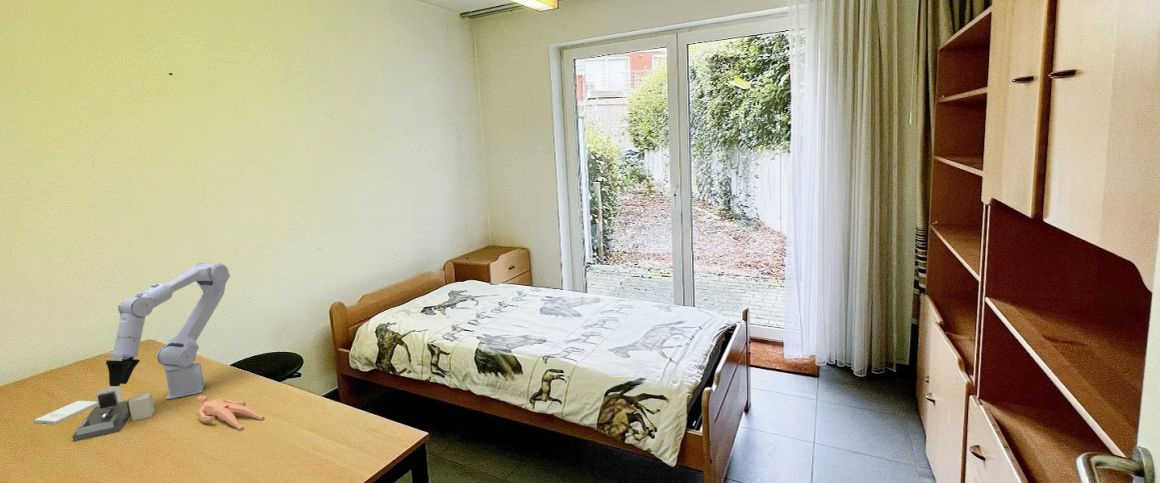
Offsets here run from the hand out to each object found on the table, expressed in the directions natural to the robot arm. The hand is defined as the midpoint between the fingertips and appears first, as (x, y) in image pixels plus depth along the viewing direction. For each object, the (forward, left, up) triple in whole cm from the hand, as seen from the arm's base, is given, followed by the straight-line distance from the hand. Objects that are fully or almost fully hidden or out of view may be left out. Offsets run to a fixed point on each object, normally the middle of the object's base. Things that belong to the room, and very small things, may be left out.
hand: (118, 385), depth 161 cm
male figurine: (-27, +16, -11) cm, 33 cm away
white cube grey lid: (-4, +1, -11) cm, 11 cm away
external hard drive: (+17, -15, -11) cm, 26 cm away
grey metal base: (+4, -1, -11) cm, 12 cm away
